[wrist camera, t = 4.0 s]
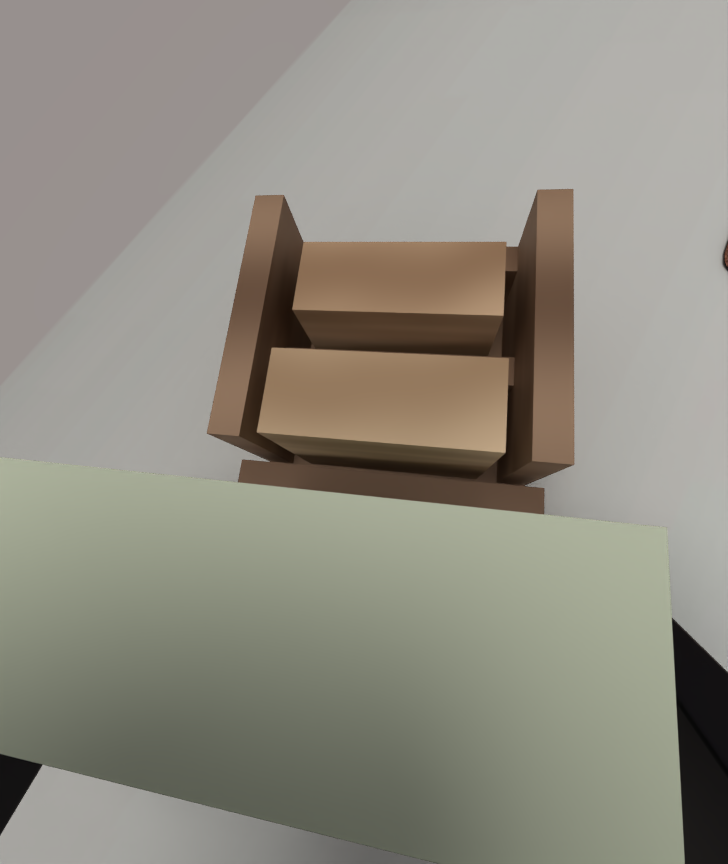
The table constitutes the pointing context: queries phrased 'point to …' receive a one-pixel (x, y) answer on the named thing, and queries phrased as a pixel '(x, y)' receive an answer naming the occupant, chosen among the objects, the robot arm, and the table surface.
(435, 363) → the oak offcut
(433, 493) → the offcut rack
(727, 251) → the wooden tablet
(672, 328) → the table surface
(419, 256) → the small oak offcut
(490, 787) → the tall board
